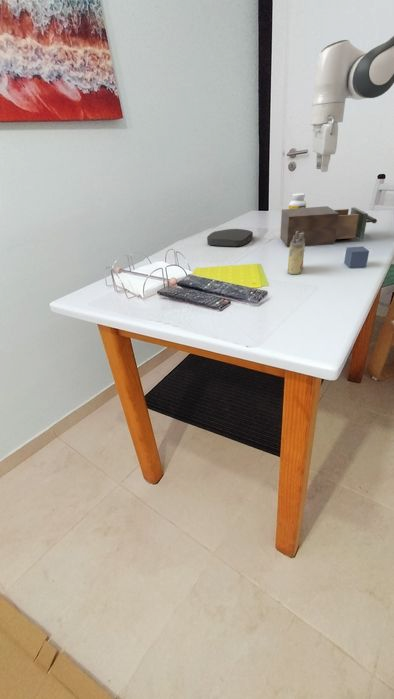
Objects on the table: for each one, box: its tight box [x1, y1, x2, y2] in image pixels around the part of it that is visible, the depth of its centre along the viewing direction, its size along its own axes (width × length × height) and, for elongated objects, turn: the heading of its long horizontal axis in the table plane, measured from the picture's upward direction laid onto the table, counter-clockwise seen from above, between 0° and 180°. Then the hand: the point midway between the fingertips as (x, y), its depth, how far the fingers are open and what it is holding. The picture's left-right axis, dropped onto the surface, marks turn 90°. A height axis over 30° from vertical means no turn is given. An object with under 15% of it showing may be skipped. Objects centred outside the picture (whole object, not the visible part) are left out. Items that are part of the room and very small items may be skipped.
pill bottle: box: [288, 192, 307, 209], centre depth 133 cm, size 6×6×12 cm
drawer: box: [333, 206, 378, 240], centre depth 113 cm, size 19×11×8 cm, turn 88°
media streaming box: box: [206, 228, 254, 247], centre depth 122 cm, size 15×15×3 cm
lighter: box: [286, 231, 306, 275], centre depth 90 cm, size 7×4×10 cm, turn 157°
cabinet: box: [279, 205, 339, 248], centre depth 114 cm, size 16×13×10 cm
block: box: [343, 246, 370, 269], centre depth 92 cm, size 4×4×4 cm
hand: (321, 170), depth 105 cm, fingers open, 8 cm apart
